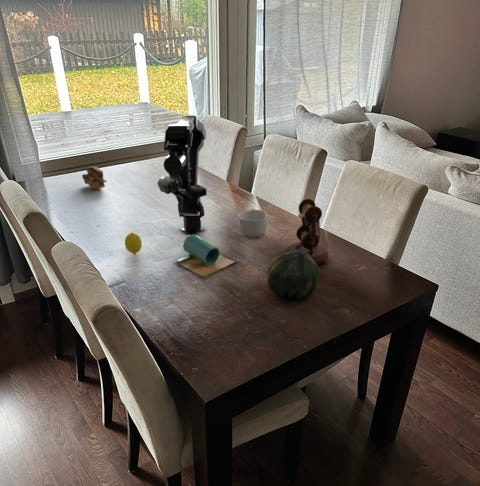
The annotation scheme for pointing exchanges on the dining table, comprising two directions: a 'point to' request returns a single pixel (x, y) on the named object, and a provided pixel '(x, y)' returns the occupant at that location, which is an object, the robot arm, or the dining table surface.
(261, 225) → the teacup
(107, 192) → the dining table surface
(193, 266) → the cork mat
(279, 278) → the squash
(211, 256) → the cup
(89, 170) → the wooden carving
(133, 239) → the lemon
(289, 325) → the dining table surface
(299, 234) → the brown spool stand
